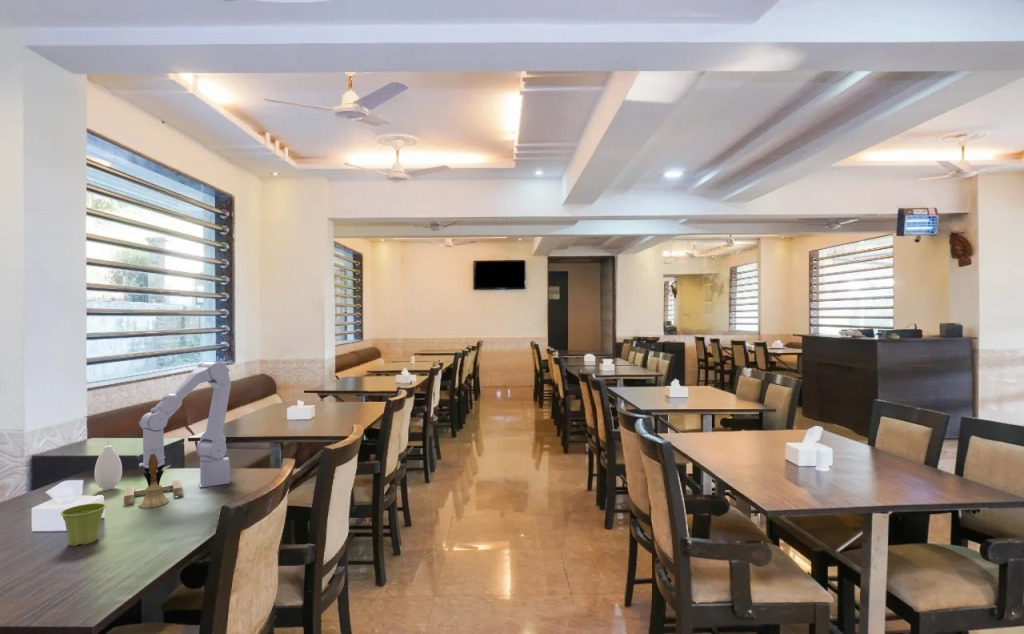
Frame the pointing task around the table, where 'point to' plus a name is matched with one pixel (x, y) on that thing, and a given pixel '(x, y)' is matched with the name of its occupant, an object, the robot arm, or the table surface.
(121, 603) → the table surface
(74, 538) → the plant pot
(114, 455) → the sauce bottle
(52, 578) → the table surface
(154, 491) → the hand bell
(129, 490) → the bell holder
